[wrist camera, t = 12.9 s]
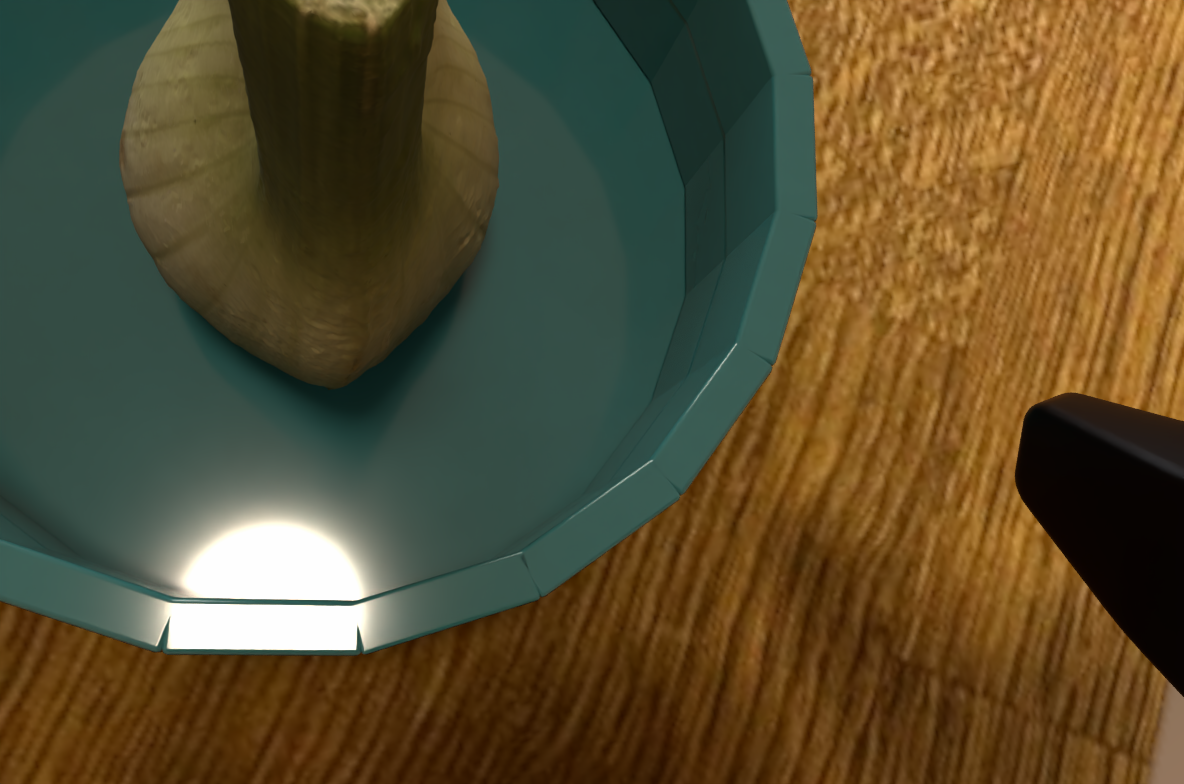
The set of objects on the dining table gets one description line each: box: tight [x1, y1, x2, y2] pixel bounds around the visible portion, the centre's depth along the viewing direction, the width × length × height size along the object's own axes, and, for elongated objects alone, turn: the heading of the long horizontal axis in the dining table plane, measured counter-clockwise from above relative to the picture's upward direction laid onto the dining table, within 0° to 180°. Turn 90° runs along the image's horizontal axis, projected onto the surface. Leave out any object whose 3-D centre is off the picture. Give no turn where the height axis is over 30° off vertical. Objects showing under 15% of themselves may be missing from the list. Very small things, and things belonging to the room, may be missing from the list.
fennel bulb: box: [119, 0, 499, 390], centre depth 11 cm, size 6×5×12 cm
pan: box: [0, 0, 817, 656], centre depth 15 cm, size 13×13×4 cm
